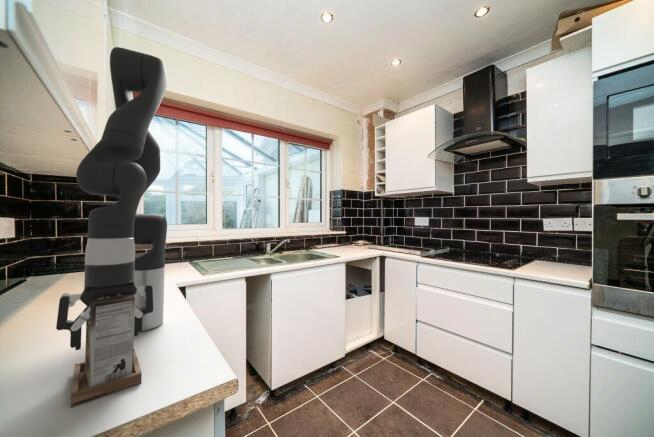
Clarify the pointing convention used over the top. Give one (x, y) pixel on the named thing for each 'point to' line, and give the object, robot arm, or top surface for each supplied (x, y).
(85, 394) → the shallow square tray
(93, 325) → the coffee box
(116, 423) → the top surface
